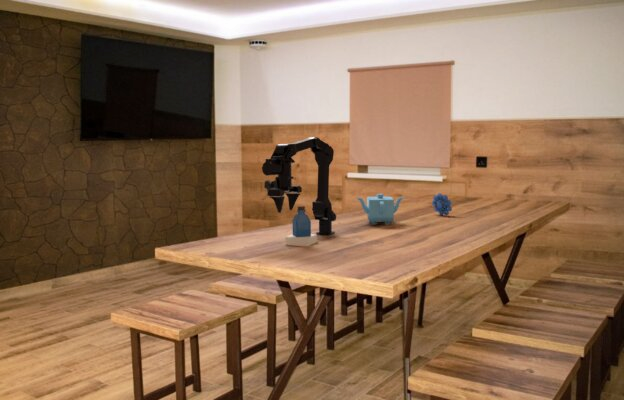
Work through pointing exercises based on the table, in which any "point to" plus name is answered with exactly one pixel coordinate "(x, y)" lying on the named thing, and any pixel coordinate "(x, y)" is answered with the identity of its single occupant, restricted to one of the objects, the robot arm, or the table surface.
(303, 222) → the perfume bottle
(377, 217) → the teakettle
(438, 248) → the table surface
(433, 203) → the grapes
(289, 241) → the cream block
